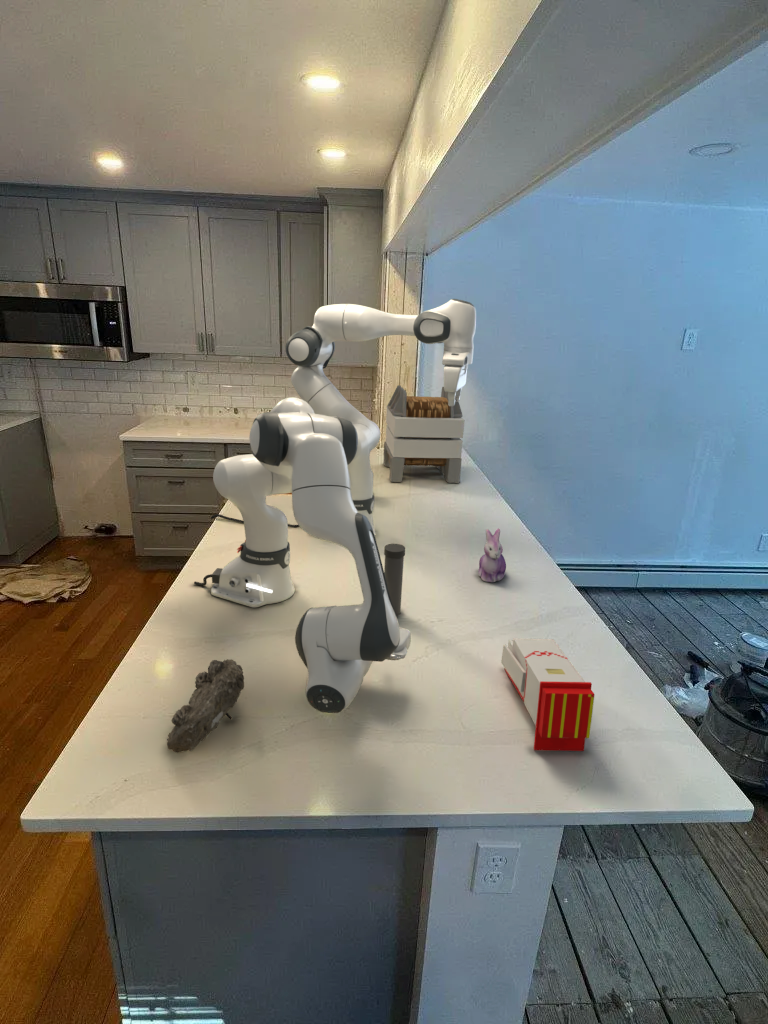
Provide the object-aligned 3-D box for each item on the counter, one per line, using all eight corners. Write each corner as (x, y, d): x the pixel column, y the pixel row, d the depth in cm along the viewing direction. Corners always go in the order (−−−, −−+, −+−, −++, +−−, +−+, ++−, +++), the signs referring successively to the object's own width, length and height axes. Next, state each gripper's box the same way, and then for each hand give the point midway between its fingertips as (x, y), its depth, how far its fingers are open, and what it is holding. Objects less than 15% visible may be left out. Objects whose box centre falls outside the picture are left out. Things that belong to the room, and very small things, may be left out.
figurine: (489, 586, 164) (495, 538, 159) (468, 571, 173) (473, 526, 168) (514, 580, 169) (521, 533, 163) (493, 566, 177) (498, 521, 172)
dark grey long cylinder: (378, 610, 149) (381, 547, 143) (393, 606, 151) (397, 544, 145) (388, 618, 145) (392, 554, 139) (403, 613, 148) (407, 550, 142)
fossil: (192, 660, 117) (244, 628, 112) (224, 691, 120) (276, 661, 115) (142, 746, 98) (202, 712, 93) (182, 779, 101) (242, 748, 96)
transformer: (382, 463, 289) (386, 382, 275) (445, 464, 293) (451, 384, 279) (390, 482, 257) (394, 392, 243) (460, 483, 261) (468, 394, 247)
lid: (379, 552, 143) (380, 545, 143) (397, 548, 146) (397, 542, 145) (391, 560, 139) (392, 553, 139) (409, 556, 142) (409, 549, 141)
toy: (549, 621, 128) (604, 690, 99) (544, 676, 131) (595, 758, 101) (496, 620, 128) (535, 688, 98) (492, 675, 130) (528, 757, 101)
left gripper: (404, 646, 109) (418, 612, 121) (304, 629, 113) (327, 598, 126) (403, 674, 111) (416, 638, 123) (304, 657, 115) (327, 623, 128)
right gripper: (453, 354, 180) (449, 398, 185) (441, 358, 161) (437, 407, 166) (473, 355, 178) (468, 399, 183) (463, 360, 160) (459, 409, 164)
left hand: (371, 618), depth 125 cm, fingers open, 8 cm apart
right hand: (454, 403), depth 174 cm, fingers open, 8 cm apart
